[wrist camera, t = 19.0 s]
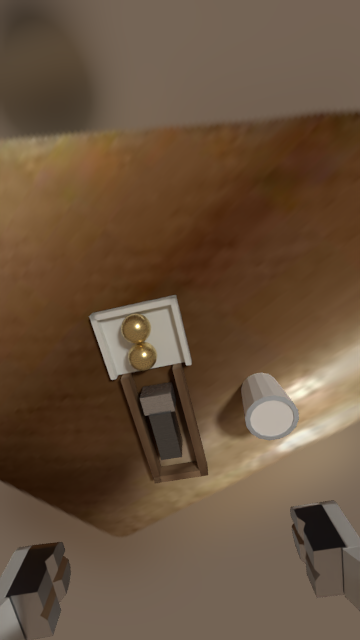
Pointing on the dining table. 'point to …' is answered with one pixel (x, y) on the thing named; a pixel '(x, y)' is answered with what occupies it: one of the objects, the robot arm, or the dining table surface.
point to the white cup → (267, 407)
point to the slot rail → (146, 439)
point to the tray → (163, 337)
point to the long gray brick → (163, 418)
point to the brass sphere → (142, 356)
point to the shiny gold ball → (136, 328)
